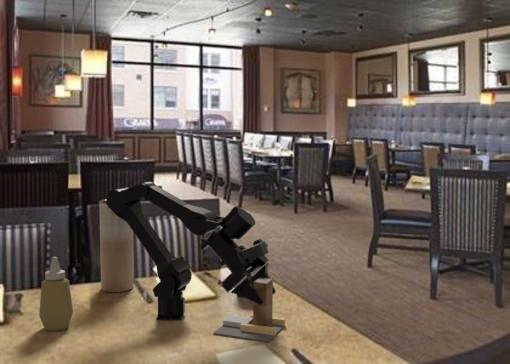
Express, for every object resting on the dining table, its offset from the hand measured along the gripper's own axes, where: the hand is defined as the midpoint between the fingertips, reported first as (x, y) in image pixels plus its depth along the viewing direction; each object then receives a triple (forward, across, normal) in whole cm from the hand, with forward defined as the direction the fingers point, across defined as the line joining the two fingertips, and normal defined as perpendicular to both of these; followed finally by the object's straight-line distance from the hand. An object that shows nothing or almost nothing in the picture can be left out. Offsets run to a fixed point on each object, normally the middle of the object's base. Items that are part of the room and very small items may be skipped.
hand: (268, 298), depth 139 cm
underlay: (+3, -2, +9) cm, 9 cm away
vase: (-34, +17, +46) cm, 59 cm away
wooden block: (+4, 0, +6) cm, 8 cm away
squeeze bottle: (-30, -18, +41) cm, 54 cm away
